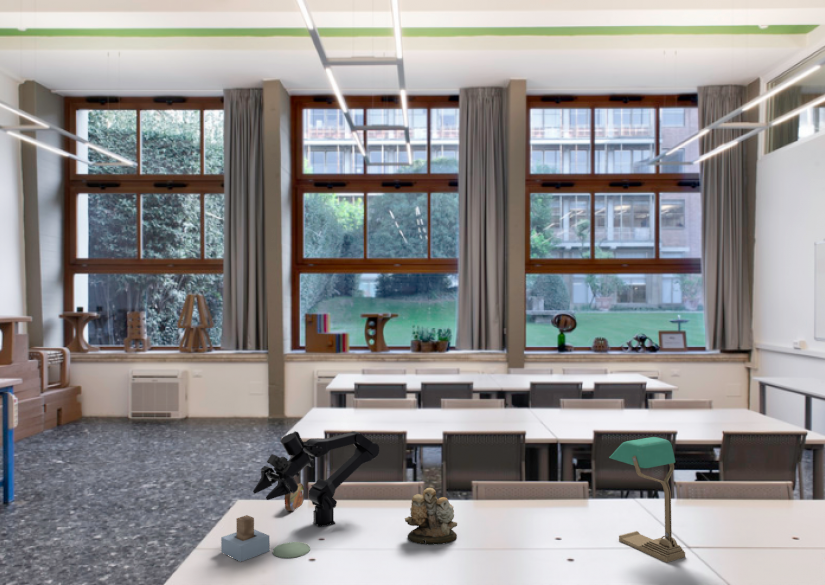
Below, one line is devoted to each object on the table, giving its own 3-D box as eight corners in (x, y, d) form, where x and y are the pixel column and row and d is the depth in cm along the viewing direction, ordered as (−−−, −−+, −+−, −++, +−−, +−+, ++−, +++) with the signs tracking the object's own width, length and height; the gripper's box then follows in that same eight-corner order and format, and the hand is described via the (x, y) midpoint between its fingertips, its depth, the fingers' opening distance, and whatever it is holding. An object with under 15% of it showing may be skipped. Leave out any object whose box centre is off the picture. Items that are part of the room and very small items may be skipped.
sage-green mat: (304, 540, 210) (304, 539, 210) (314, 553, 199) (314, 552, 199) (269, 547, 205) (269, 546, 205) (278, 561, 194) (278, 559, 194)
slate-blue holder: (250, 542, 209) (250, 527, 209) (269, 550, 202) (269, 535, 202) (221, 552, 201) (221, 537, 201) (240, 561, 194) (240, 546, 194)
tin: (290, 514, 236) (290, 492, 236) (283, 513, 237) (282, 491, 237) (305, 501, 251) (305, 480, 251) (298, 501, 252) (297, 480, 252)
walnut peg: (247, 542, 204) (247, 515, 204) (254, 545, 201) (254, 517, 202) (236, 545, 201) (236, 518, 201) (243, 549, 198) (243, 521, 199)
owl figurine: (406, 546, 205) (405, 495, 205) (403, 533, 216) (402, 484, 217) (459, 543, 206) (458, 492, 206) (454, 530, 218) (453, 482, 218)
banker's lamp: (658, 565, 188) (656, 450, 188) (607, 541, 207) (606, 437, 207) (693, 554, 195) (691, 444, 196) (641, 532, 214) (639, 432, 214)
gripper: (271, 443, 223) (236, 471, 214) (298, 452, 209) (262, 483, 200) (285, 466, 227) (251, 496, 218) (312, 477, 213) (277, 509, 203)
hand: (259, 495), depth 210 cm, fingers open, 9 cm apart
